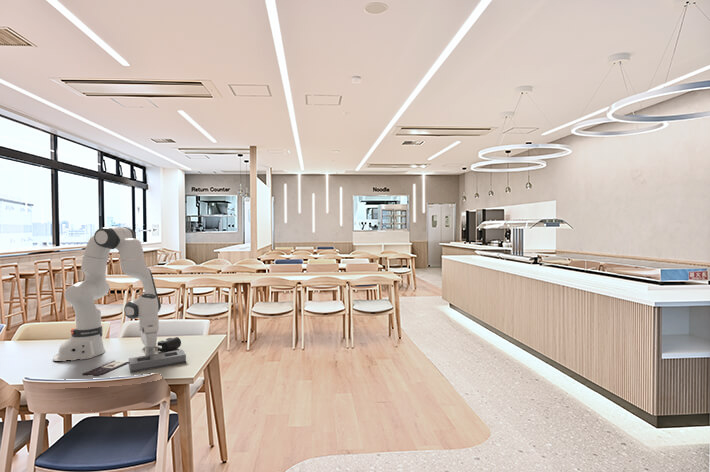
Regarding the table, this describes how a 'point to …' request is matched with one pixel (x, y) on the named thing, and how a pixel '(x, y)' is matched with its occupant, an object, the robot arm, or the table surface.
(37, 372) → the table surface
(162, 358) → the power strip
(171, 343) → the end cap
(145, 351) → the charger
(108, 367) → the chocolate bar
